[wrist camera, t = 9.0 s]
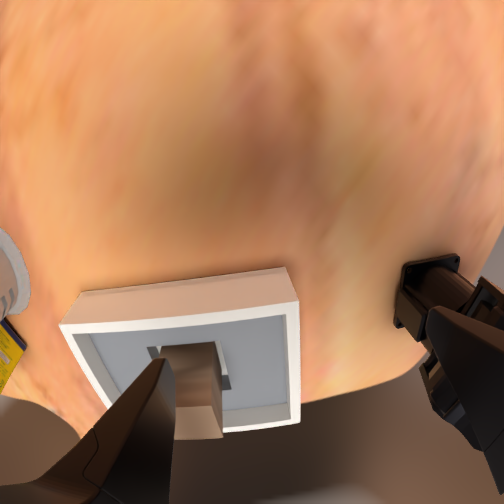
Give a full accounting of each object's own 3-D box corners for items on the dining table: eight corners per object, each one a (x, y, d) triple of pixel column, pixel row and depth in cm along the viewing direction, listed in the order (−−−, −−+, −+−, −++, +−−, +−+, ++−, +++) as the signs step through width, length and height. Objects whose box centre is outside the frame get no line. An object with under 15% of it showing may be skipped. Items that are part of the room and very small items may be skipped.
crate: (285, 266, 21) (298, 300, 17) (291, 385, 26) (299, 422, 22) (81, 291, 21) (58, 324, 17) (133, 398, 26) (125, 432, 22)
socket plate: (276, 283, 21) (280, 297, 19) (284, 388, 25) (287, 402, 24) (89, 304, 20) (81, 318, 19) (136, 399, 25) (132, 413, 23)
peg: (213, 333, 22) (211, 405, 16) (221, 369, 24) (223, 437, 17) (163, 338, 22) (147, 407, 15) (176, 372, 23) (167, 439, 17)
